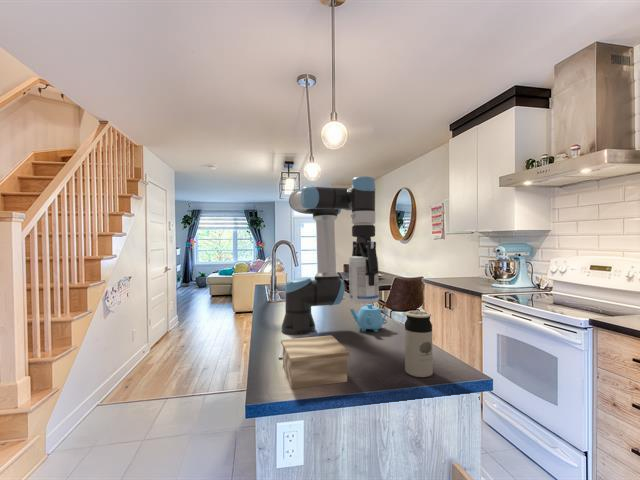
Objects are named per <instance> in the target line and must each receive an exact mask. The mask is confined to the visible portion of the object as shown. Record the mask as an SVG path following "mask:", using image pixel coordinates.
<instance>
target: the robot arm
mask: <svg viewBox="0 0 640 480" xmlns="http://www.w3.org/2000/svg"><path fill="white" fill-rule="evenodd" d="M375 181H376V180H375V179H374V177H371V176H355V177H353V178H352V179H351V187H324V186H312V185H311V186H304V187H302V188H301V189H297V190H294V191H293V192H292V193H291V194H290V195H289V198H288V203H289V206H290V207H291V209H292V210H293V211H295V212H298V213H300V214H304V215H306V214H307V215H312V219H313V220H314V221H315V222H316V225H315V226H316V230H315V231H316V255H317V258H316V259H317V262H316V263H317V273H316V274H315V275H314V280H312V278H311V277H309V276H304V277H303V276H302V277H296V278H292V279H289V280H287V281H286V282H285V285H284V287H285V288H284V290H285V291H284V294H285V296H284V297H285V299H284V300H285V303H284V304H285V306H284V308H285V309H284V310H285V312H284V317H283V320H282V323H281V332H282V333H283V334H285V335H286V334H287V335H295V336H298V335H301V336H302V335H309V334H311V333H314V332H315V331H316V322H315V320H314V318H313V314H312V307H325V306H331V307H332V306H335V305H339V304H341V303H342V301H343V299H344V297H345V287H346V286H345V283H344V280H343V279H342V278H340V274H339V273H338V272H337V260H336V235H335V234H336V233H335V231H336V230H335V221H336V220H337V219H338V215H340V214H341V212H342V210H344V211H351V214H350V217H351V223H352V224H353V225H352V226H351V236H352V237H355V238H356V240H355V241H352V253H351V257H352V256H363V257H368V260H367V259H366V271H367V273H366V274H365V275H366V296H375V275H376V274H378V275H379V263H378V264H377V257H378V256H377V242H376V241H372V238H373V237H376V226H375V225H374V224H376V182H375Z"/></svg>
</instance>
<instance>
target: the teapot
mask: <svg viewBox="0 0 640 480" xmlns="http://www.w3.org/2000/svg"><path fill="white" fill-rule="evenodd" d="M349 310H350V312H351V315H352V317H353V319H354V321H355V322H356V324H357V326H358V327H359V328H360V329H361V330H360V331H361V332H367V330H372V331H373V333H374V332H375V333H378V332H379V331H380V330H379V329H381V328H382V326H383V325H386V324H387V323H388V320H387V319H385V318H386V316H387V311H386V310H385V309H384V308H380V307H378V306H374V305H373V303H370V304H366V305H364V306H361V307H360V308H359V311H358V312H356V311H355V310H354V308H350V309H349ZM382 311H383V315H382Z"/></svg>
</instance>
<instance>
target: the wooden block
mask: <svg viewBox="0 0 640 480" xmlns="http://www.w3.org/2000/svg"><path fill="white" fill-rule="evenodd" d="M280 344H281V346H282V349H283V358H282V367H283V368H282V369H283V370H284V373H285V375H286V378H287V381H288V383H289V385H290V388H291V389H300V388H301V389H302V388H308V387H316V386H323V385H332V384H339V383H346V382H348V356H349V357H350V351H349V350H348V349H346V347H344V346H343V344H341V342H339V341H338V340H337V339H336V338H335V337H334V336H333V335H321V336H311V337H309V336H308V337H296V338H287V339H281V340H280Z"/></svg>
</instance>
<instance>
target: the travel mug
mask: <svg viewBox="0 0 640 480" xmlns="http://www.w3.org/2000/svg"><path fill="white" fill-rule="evenodd" d="M405 315H406V321H405V323H404V370H405V372H406V374H408V375H410V376H411V377H415V378H427V377H428V378H429V377H430V376H432V375H433V373H434V372H433V371H434V370H433V364H434V363H433V359H434V358H433V324H432V322H431V317H432V313H430V312H428V311H424V310H408V311H406V312H405Z"/></svg>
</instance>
